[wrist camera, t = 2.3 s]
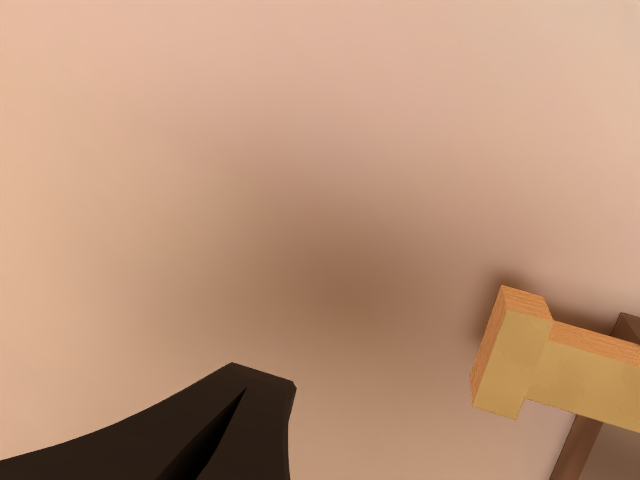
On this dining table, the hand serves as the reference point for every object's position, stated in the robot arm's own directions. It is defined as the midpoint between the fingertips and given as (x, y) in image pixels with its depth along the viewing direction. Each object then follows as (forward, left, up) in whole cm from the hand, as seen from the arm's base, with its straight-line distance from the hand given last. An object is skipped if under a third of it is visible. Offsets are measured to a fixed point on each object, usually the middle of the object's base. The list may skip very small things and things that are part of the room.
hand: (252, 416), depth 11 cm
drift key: (0, -7, -7) cm, 10 cm away
